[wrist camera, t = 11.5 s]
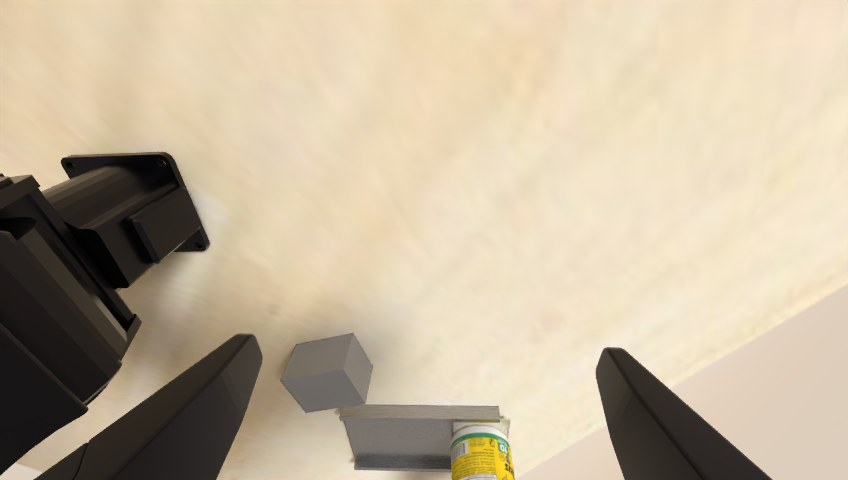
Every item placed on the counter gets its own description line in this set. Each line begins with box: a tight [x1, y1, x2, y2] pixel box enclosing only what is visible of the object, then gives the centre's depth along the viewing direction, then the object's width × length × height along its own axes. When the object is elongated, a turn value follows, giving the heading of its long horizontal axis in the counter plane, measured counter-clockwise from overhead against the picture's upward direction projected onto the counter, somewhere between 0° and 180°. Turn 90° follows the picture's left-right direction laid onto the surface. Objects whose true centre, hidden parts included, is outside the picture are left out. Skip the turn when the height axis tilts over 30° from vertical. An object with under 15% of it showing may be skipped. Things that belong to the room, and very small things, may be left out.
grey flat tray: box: [339, 405, 510, 472], centre depth 34 cm, size 15×9×1 cm, turn 93°
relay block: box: [280, 333, 373, 413], centre depth 28 cm, size 5×4×4 cm
